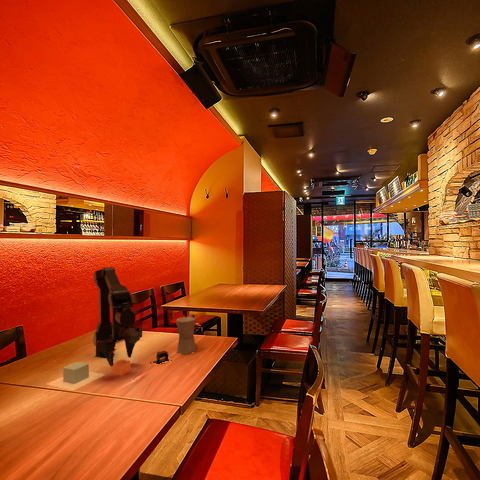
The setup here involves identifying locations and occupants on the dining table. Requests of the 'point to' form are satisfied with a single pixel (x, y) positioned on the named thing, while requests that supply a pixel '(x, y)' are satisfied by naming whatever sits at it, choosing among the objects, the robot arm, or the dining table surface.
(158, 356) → the dark piece
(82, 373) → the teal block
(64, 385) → the base plate
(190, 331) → the coffeepot
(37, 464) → the dining table surface
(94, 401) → the dining table surface
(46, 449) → the dining table surface
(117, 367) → the orange block
